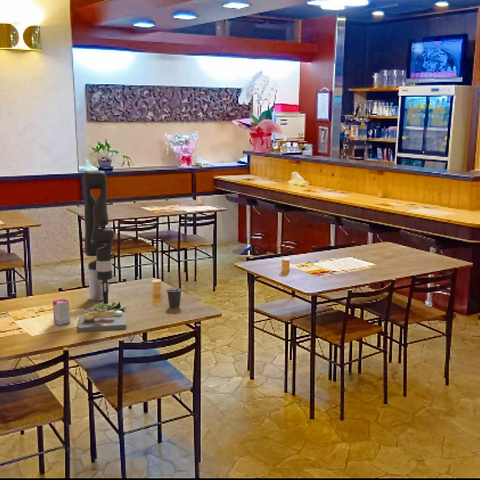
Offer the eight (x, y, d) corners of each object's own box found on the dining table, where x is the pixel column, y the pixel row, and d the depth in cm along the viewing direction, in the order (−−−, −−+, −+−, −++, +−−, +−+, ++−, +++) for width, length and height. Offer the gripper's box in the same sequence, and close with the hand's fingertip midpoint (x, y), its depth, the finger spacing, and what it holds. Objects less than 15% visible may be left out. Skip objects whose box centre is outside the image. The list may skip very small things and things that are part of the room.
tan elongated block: (84, 319, 296) (83, 311, 295) (114, 317, 299) (114, 309, 298) (83, 322, 291) (83, 314, 290) (115, 320, 294) (114, 312, 293)
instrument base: (79, 319, 302) (79, 312, 301) (124, 316, 306) (124, 309, 306) (78, 332, 284) (77, 324, 284) (126, 328, 289) (126, 321, 288)
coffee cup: (179, 309, 318) (179, 291, 316) (164, 308, 319) (164, 290, 317) (184, 305, 326) (183, 286, 324) (169, 304, 327) (169, 286, 325)
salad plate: (107, 320, 302) (106, 311, 301) (78, 315, 309) (77, 306, 308) (129, 309, 319) (129, 301, 318) (101, 305, 326) (101, 296, 326)
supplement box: (70, 323, 296) (69, 300, 294) (59, 326, 292) (58, 303, 290) (64, 320, 300) (63, 298, 298) (53, 323, 296) (52, 300, 294)
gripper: (96, 266, 303) (98, 300, 306) (96, 272, 290) (97, 307, 294) (112, 265, 305) (113, 299, 308) (112, 271, 292) (114, 306, 295)
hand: (105, 303), depth 301 cm, fingers closed
